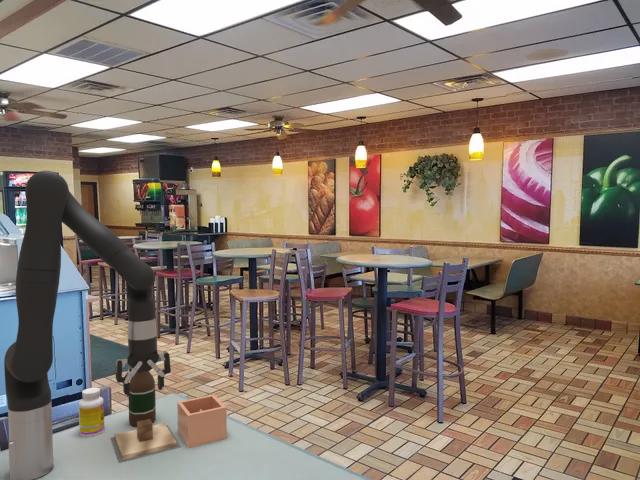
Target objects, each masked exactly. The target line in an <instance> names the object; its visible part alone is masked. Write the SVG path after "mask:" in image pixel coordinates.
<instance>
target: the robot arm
mask: <svg viewBox="0 0 640 480" xmlns="http://www.w3.org/2000/svg"><path fill="white" fill-rule="evenodd" d="M25 196H26V197H25V198H26V220H25V221H26V222H25V230H24V234H23V238H22V242H21V246H20V250H19V254H18V255H19V256H18V261H17V268H16V275H15V276H16V277H15V300H16V307H17V308H16V310H17V319H18V322H17V323H18V327H17V333H16V340H15V342H13V343H12V344H11V345H10V346H9V347H8V348H7V349H6V352H5V355H4V361H3V363H4V364H3V367H4V383H5V384H4V385H5V395H6V400H7V417H8V418H7V419H8V460H9V461H8V462H9V465H8V466H9V480H35V479H38V478H41V477H43V476H45V475H47V474H49V473H50V472H51V471H52V470H53V468H54V459H55V458H54V444H53V443H54V440H53V439H54V438H53V416H52V415H53V413H52V411H53V409H52V406H53V405H52V389H51V387H50V381H49V377H48V373H49V371H50V370H51V367H52V366H53V363H54V355H53V354H54V347H53V345H54V343H53V340H54V339H53V335H54V334H53V331H54V329H53V327H54V317H55V312H56V307H57V299H58V293H59V287H60V286H59V285H60V278H61V277H60V276H61V267H62V241H61V229H62V228H61V227H62V224H64V225H65V227H67V228H69V230H71V232H73V233H74V234H75V235H76V236H77V237H78V238H79V239H80V240H81V241H82V243H83V244H84V245H86V246H87V247H88V248H89V249H90V250H91V251H92V252H93V253H94V254H95V255H96V256H97V257H99V259H101V261H103V262H104V263H105V264H106V265H107V266H109V267H110V268H111V269H113V270H115V272H116V273H117V274H118V275H119V276H120V277H121V278H122V279H123V280H124V281H125V287H126V293H127V294H126V295H127V302H128V303H127V316H128V317H127V321H128V322H127V334H126V335H127V347H128V348H127V351H128V356H127V358H122V359H121V358H120V357H119V358H116V360H115V381H116V382H117V383H122V387H123V389H122V390H123V391H122V392H123V393H124V395H125V396H126V397H128V398H129V396H130V380H131V378H132V377H133V376H134V375H135V373H136V372H138V373H141V372H144V371H149V372H150V371H152V370H154V371H155V372H156V374H157V389H158V390H159V391H162V390H163V388H164V386H165V376H166V375H167V374H168V375H169V374H170V373H171V372H172V368H171V359H170V353H169V352H168V351H167V350H164V351H163V352H160V353H158V335H157V330H158V329H157V321H156V306H155V305H156V304H155V300H154V297H153V285H154V284H155V281H156V273H155V271H154V269H153V268H152V267H151V266H150V265H148V263H146V262H145V261H144V260H143V259H141V258H140V257H139V256H138V255H137V254H136V253H134V252H133V251H132V250H131V249H130V247H129V246H128V245H127V244H126V243H125V242H124V241H123V240H122V239H121V238H120V237H119V236H118V235H116V234H115V232H113V231H112V230H111V229H110V228H108V227H107V226H106V225H105V224H103V223H102V222H101V221H99V220H98V219H97V218H96V217H94V215H92V214H91V213H90V212H88V211H87V210H86V209H85V207H83V206H82V205H81V204H80V202H79V201H78V200H77V198H75V195H73V194H72V193H71V191H70V189H69V185H68V182H67V181H66V179H65V178H64V177H63V176H62V175H60V174H59V173H57V172H55V171H51V170H41V171H37V172H36V173H34V174H32V175H31V176H30V177H29V178H28V180H27V181H26V185H25ZM160 358H161V359H160ZM159 360H162V361H163V367H164V368H163V369H162V368H160V367H159V366H158V365H157V362H159ZM126 364H128V366H129V368H128V369H127V370H126V373H125V375H124V376H123V368H125V366H126Z"/></svg>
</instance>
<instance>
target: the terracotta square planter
mask: <svg viewBox="0 0 640 480" xmlns="http://www.w3.org/2000/svg"><path fill="white" fill-rule="evenodd" d="M200 409H201V410H202V411H200ZM176 410H177V433H178V435H179V437H181V440H182V441H183V442H184V444H185V445H186V447H187V449H191V448H194V447H197V446H201V445H206V444H210V443H213V442H216V441H220V440H225V439H228V434H227V433H228V432H227V427H228V425H227V419H228V418H227V406H226V405H225V404H224V403H223V402H222V401H221V400H220V399H219V398H218V397H217V396H216V395H215V394H209V395H204V396H201V397H199V396H198V397H195V398H191V399H186V400H180V401H177V409H176ZM199 411H200V412H199Z"/></svg>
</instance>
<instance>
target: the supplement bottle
mask: <svg viewBox="0 0 640 480" xmlns="http://www.w3.org/2000/svg"><path fill="white" fill-rule="evenodd" d="M81 393H82V394H81V397H82V399H81V400H80V401H79V402H78V420H79V422H78V423H79V426H78V427H79V435H80V437H82V438H83V437H84V438H89V437H90V438H91V437H95V436H98V435H101V434H102V433H103V432H104V431H105V403H104V398H103V397H102V396H100V394H101V389H100V388H99V387H90V388H86V389H85V388H84V390H82V392H81Z"/></svg>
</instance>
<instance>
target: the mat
mask: <svg viewBox="0 0 640 480" xmlns="http://www.w3.org/2000/svg"><path fill="white" fill-rule="evenodd" d="M166 426H167V427H168V429H169V431H170V432H171V434H172V435H173V437H174V439H175V440H176V442H177V446H176V447H172V448H169V449H165V450H161V451H157V452H153V453H149V454H145V455H141V456H137V457H133V458H129V459H125V460H122V458H121V455H120V452H119V449H118V447H117V444H116V441H115V438H114V436H112V437H110V441H111V445H112V447H113V450H114V453H115V456H116V458H117V459H116V460H117V462H118V464H121V463H125V462H129V461H132V460H137V459H141V458H144V457H147V456H148V457H149V456H153V455H157V454H160V453H163V452H167V451H171V450H176V449H179V448H182V445H181V444H180V442H179V441H178V440H177V438H176V436H175V435H174V433H173V431H172V429H170V428H171V427H170V426H169V425H168V424H166Z"/></svg>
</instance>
